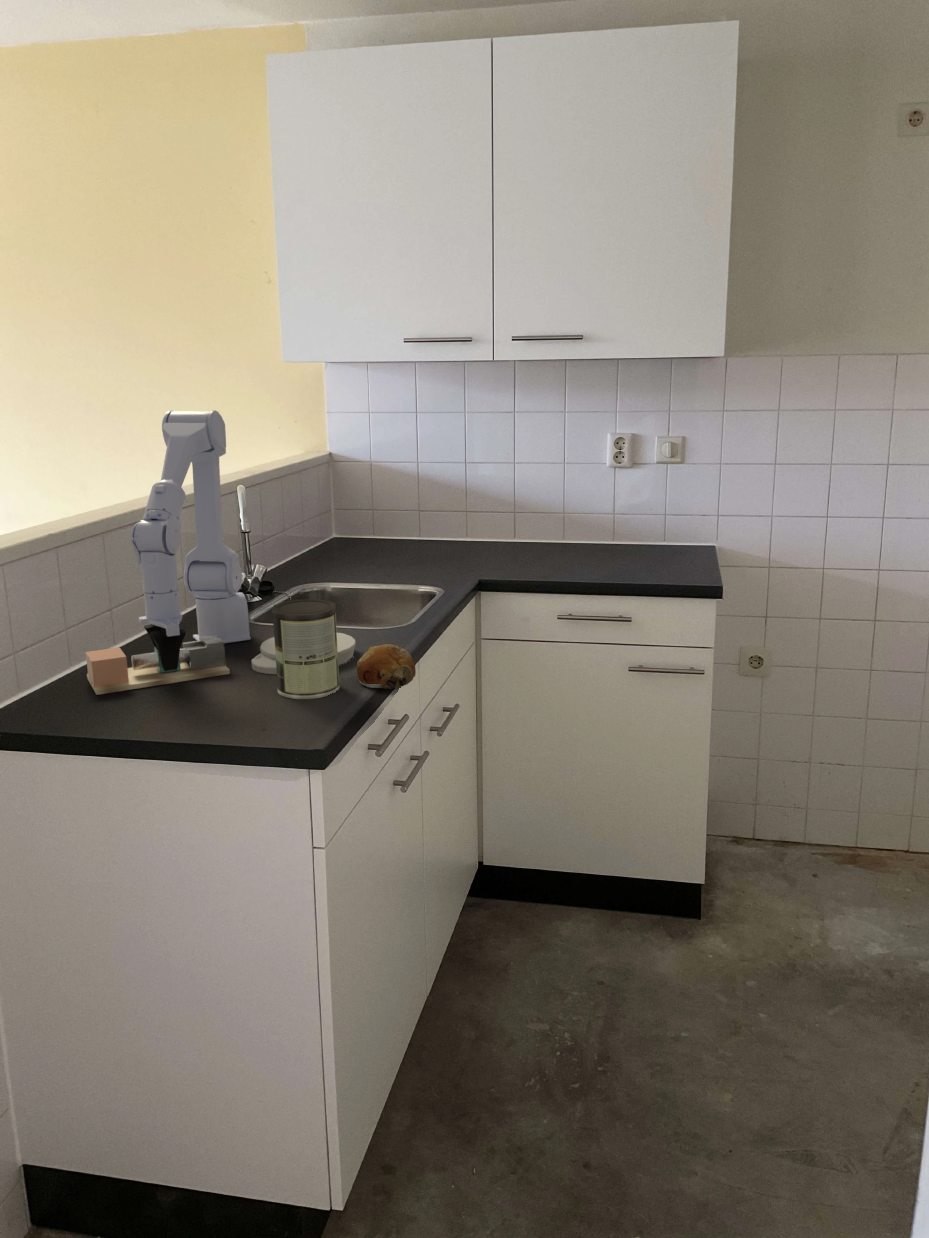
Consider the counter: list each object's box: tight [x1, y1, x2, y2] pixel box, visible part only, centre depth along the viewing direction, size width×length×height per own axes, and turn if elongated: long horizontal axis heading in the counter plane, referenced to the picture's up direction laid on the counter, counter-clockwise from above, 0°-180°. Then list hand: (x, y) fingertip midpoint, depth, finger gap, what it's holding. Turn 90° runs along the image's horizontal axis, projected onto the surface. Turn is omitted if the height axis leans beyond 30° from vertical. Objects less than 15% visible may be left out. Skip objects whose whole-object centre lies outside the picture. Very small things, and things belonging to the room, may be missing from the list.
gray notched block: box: [182, 635, 227, 671], centre depth 173 cm, size 6×5×4 cm
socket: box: [85, 646, 129, 687], centre depth 166 cm, size 6×6×4 cm
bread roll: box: [356, 643, 417, 690], centre depth 166 cm, size 10×10×8 cm
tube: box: [130, 645, 205, 672], centre depth 171 cm, size 15×3×4 cm, turn 118°
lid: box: [251, 632, 357, 675], centre depth 179 cm, size 17×20×3 cm
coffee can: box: [271, 598, 341, 700], centre depth 161 cm, size 10×10×14 cm
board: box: [86, 663, 231, 696], centre depth 170 cm, size 22×10×1 cm, turn 118°
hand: (168, 666), depth 171 cm, fingers closed on tube, 3 cm apart
